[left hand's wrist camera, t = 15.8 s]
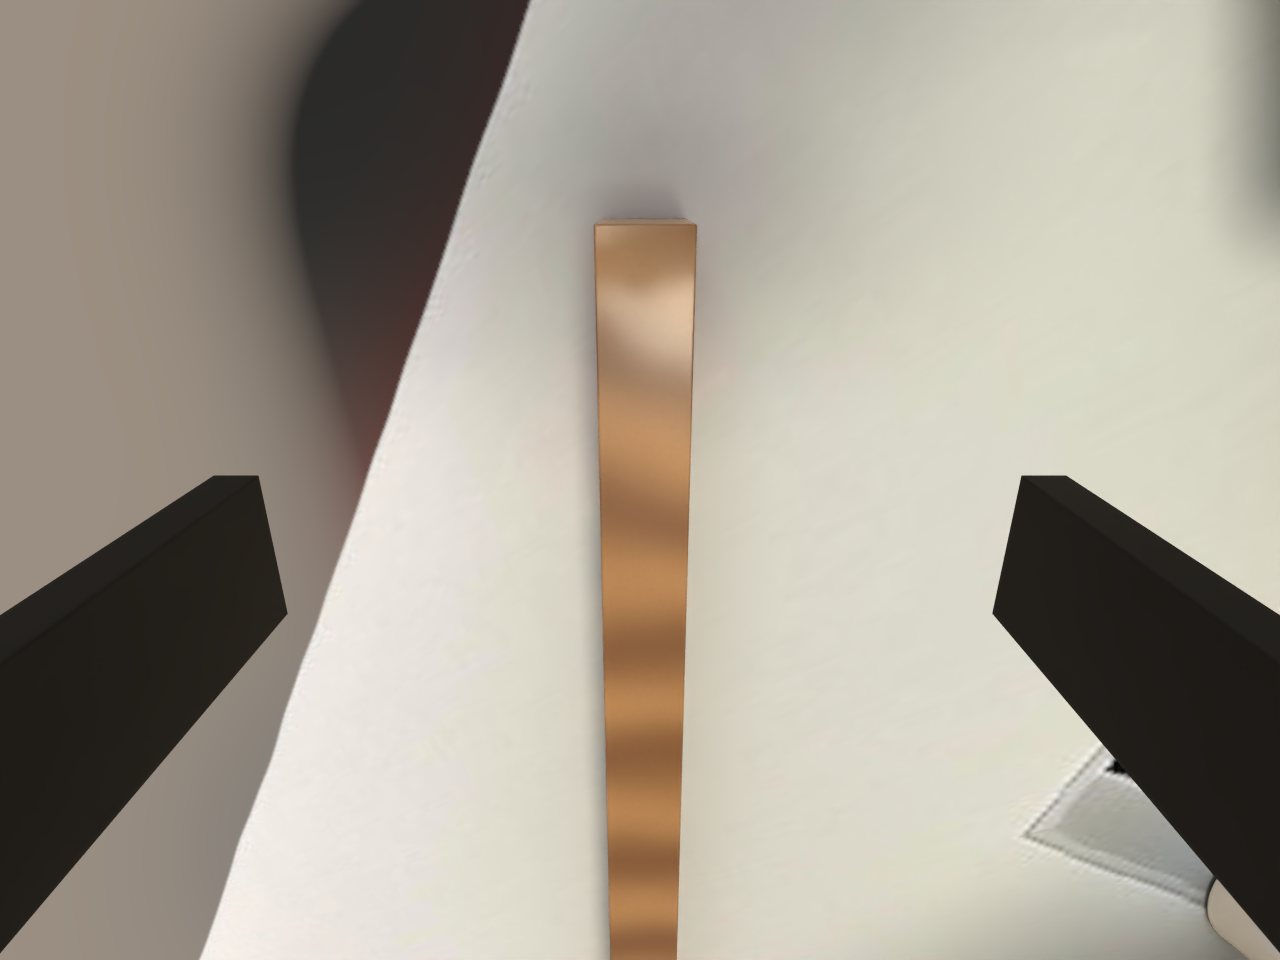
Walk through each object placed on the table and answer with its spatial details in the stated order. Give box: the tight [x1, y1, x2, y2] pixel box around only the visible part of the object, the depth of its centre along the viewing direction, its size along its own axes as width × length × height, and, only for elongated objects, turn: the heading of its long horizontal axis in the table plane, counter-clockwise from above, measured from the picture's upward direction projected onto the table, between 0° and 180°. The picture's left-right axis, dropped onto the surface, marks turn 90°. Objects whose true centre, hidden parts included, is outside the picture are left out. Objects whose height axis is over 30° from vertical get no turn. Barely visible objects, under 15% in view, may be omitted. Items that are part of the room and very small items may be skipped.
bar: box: [594, 219, 697, 960], centre depth 50 cm, size 77×5×8 cm, turn 0°
